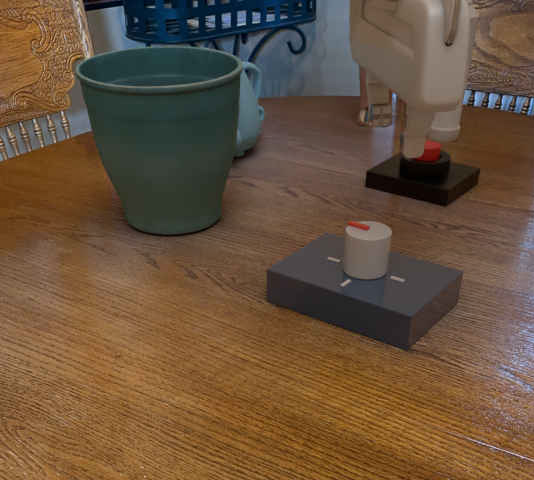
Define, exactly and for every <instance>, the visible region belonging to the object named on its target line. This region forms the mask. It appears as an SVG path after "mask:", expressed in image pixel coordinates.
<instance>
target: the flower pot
mask: <svg viewBox="0 0 534 480" xmlns="http://www.w3.org/2000/svg"><path fill="white" fill-rule="evenodd" d="M206 48H207V47H197V46H180V45H159V46H157V45H156V46H140V47H131V48H130V47H129V48H124V49H117V50H112V51H107V52H103V53H99V54H96V55H91V56H89V57H88V58H85V59H84V60H82V61H80V62H79V63H77V65H76V67H75V74H76V78H77V79H78V81H79V85H80V89H81V94H82V97H83V102H84V104H85V108H86V111H87V116H88V121H89V125H90V129H91V132H92V136H93V140H94V144H95V147H96V150H97V154H98V157H99V159H100V161H101V164H102V166H103V168H104V170H105V172H106V174H107V176H108V179H109V180H110V182H111V184H112V187H113V189H114V190H115V193H116V194H117V196H118V199H119V201H120V203H121V206H122V208H123V209H122V210H123V212H124V213H123V216H124V219H125V221H126V222H127V223H128V225H130V226H131V227H133V228H134V229H136V230H139V231H141V232H144V233H148V234H154V235H166V236H167V235H171V236H172V235H174V236H175V235H184V234H192V233H195V232H199V231H201V230H204V229H207V228H208V227H211V226H212V225H214V224H215V223H216V222H218V221H219V219H220V218H221V216H222V213H223V211H222V210H223V209H222V202H223V197H224V193H225V189H226V186H227V182H228V179H229V175H230V172H231V169H232V166H233V161H234V158H235V157H234V153H235V147H236V140H237V128H238V107H239V96H240V77H241V73H242V70H243V64H242V62H243V61H242V60H241V58H239V57H237V55H234V54H231V53H229V52H226V51H224V50H219V49H213V48H210V49H206Z"/></svg>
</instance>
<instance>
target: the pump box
mask: <svg viewBox="0 0 534 480" xmlns="http://www.w3.org/2000/svg"><path fill="white" fill-rule="evenodd" d="M480 173H481V167H478V166H472V165H467V164H464V163H463V164H462V163H460V162H459V163H458V162H453V161H452V157H451V153H449V152H446V151H445V150H442V149H441V150H440V157H439V159H438V160H434V161H422V160H417V159H414V158H406V157H405V156H404V155H403V154H402V153H401V152H400V151H399V152H398V153H396V154H394V155H393V156H390V157H389V158H387V159H386V160H384V161H382V162H380V163H378V164H375V166H373V167H371V168H369V169H368V170H366V171H365V181H364V184H365V185H364V188H367V189H371V190H374V191H379V192H384V193H388V194H391V195H395V196H399V197H404V198H408V199H412V200H417V201H421V202H424V203H428V204H432V205H436V206H440V207H445V208H446V207H448V206H449V205H451V204H452V203H454V202H455V201H457V200H458V199H459V198H461V197H462V196H463V195H464V194H467V192H469V191H470V190H472V189H473V188H475V187H476V186H477V185H479V179H480Z"/></svg>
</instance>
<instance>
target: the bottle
mask: <svg viewBox="0 0 534 480" xmlns="http://www.w3.org/2000/svg"><path fill="white" fill-rule="evenodd" d="M466 1H467V3H468V6H469V12H470V34H469V46H468V57H467V67H466V76H465V85H464V92H463V96H462V99H461V101H460V103H459V105H458V107H457V108H456V109H455V110H454V111H449V112H438V113H435V119H434V121H433V123H432V125H431V127H430V129H429V131H428V133H427V136H426V139H428V140H429V141H435V142H438V143H450V142H456V141H457V140H458V138H459V136H460V132H461V125H460V122H461V116H462V111H463V106H464V100H465V95H466V91H467V85H468V81H469V80H468V79H469V75H470V68H471V63H472V58H473V53H474V47H475V41H476V38H477V37H476V36H477V31H478V26H479V21H480V13H479V12H478V10H477V9H476V8H475V7H474V0H466Z"/></svg>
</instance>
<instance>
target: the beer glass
mask: <svg viewBox="0 0 534 480" xmlns="http://www.w3.org/2000/svg"><path fill="white" fill-rule="evenodd" d="M357 67H358V68H357V69H358V82H359V83H358V84H359V104H358V108H357V112H356V115H355V116H356V118H355V123H356V124H357V125H359V126H362V127H369V128H376V127H375V126H373V125H372V124H371V123H370V122H369V121H368V110H369V102H368V94H367V87H366V70H365V69H363V68H362V67H361V66H360V65H358V64H357ZM393 95H394V93H393V92H392V91H391V90H389V103H388V104H389V105H390V106H391V112H390V122H389V124H388V125H387V126H379V127H378V128H384V127H388V126H390V125H391V124H392V123H393V104H392V103H393Z"/></svg>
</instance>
